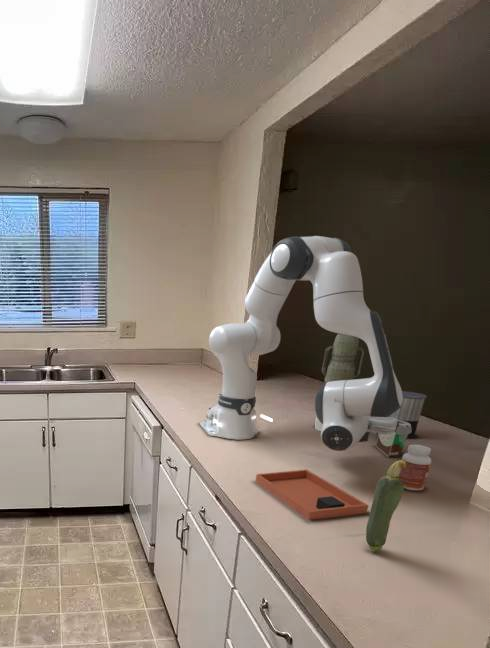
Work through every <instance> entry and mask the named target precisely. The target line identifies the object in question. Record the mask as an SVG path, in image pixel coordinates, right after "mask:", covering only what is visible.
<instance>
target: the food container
mask: <svg viewBox="0 0 490 648" xmlns="http://www.w3.org/2000/svg"><path fill="white" fill-rule="evenodd" d="M411 432H412V428H411V424H410V423H408V422H405V421H402V420H398V422H397V426H396V430H395V431H394V432H392V433H390V434H379V433H378V434H377V437H376V439H377V440H376V444H375V448H377V449H378V450H379V451H380V452H382V453H383V454H384V455H385V456H386V457H387V458H398V457H400V456H401V455H402V451H403V449H404V447H405V443H406V441H407V439H408V438H407V436H408V434H410V433H411Z"/></svg>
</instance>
